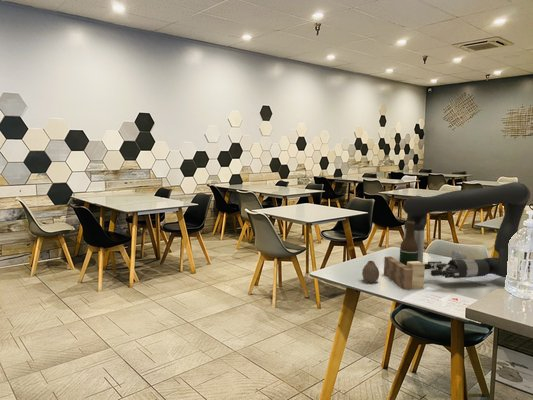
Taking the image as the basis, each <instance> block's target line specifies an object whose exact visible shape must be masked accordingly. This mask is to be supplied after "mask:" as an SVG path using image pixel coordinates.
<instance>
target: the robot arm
mask: <svg viewBox="0 0 533 400" xmlns="http://www.w3.org/2000/svg"><path fill="white" fill-rule="evenodd" d="M530 198H531V191H530V189H529V188H528V187H527V186H526V184H524V183H522V182H519V181H512V182H508V183H503V184H500V185H495V186H489V187H479V188H478V187H477V188H468V189H467V188H464V189H460V190H454V191H453V190H452V191H449V192H445V193H441V194H436V195H432V196H421V195H413V196H411V197H408V198H406V200H405V201H404V202H403V205H402V208H403V211H404V212H405V214H407V216H406V220H405V222H404V226H403V227H404V230H403V240H404V239H405V235H406V227H407V224H406V222H407V221H413V222H415V225H414V237H415V241H416V242H417V244H418V261H419V262H421V263H423V262H424V245H425V243H424V242H425V228H426V227H425V226H426V223H427V220H428V219H427V218H428V217H427V216H428V214H430V213H440V212H443V213H445V212H461V211H462V212H463V211H470V210H475V209H480V208H482V207H485V206H488V205H489V206H491V205H497V204H498V205H501V204H502V205H503V204H505V211H504V214H503V218H502V221H501V223H500V225H499V228H498V231H497V233H496V234H497V235H496V237H495V242H494V245H493V246H494V247H493V249H494V251H495V252H497V254H498V257H486V258H481V259H479V258H478V259H477V258H476V259H468V258H466V259H458V260H452V259H450V260H448V263H447V262H446V263H445V262H442V261H427V263H423V264H425V270H431V271H430V275H431V276H432V277H439V276H440V277H444V278H447V279H452V278H453V279H463V278H466V279H467V278H473V277H475V278H476V277H478V278H479V277H486V276H487V275H490V274H491V275H496V276H498V277H501V278H507V277H506V275H507V261H508V243H509V240H510V239H511V237H512V236H513V235H514V234H515V233H516V232H517V233H518V232H519V228H520V227H519V226H520V223H521V219H522V216H523V214H524V211H525V209H526V207H527V204H528V202H529V200H530Z"/></svg>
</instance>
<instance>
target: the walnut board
mask: <svg viewBox="0 0 533 400" xmlns="http://www.w3.org/2000/svg"><path fill="white" fill-rule="evenodd" d="M383 260H384V261H383V262H384V263H383V275H385V276H386V277H387V278H389V279H390V280H392V281H393V282H394V283H395V284H397V285H398V286H400V287H401V288H402V289H404V290H413V289H412V275H413V270H412V269H411V268H409V267H407V266H406V265H404V264H402V263H401V262H399V261H400V260H398V259H396V258H394V257H392V256H384V258H383Z"/></svg>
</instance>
